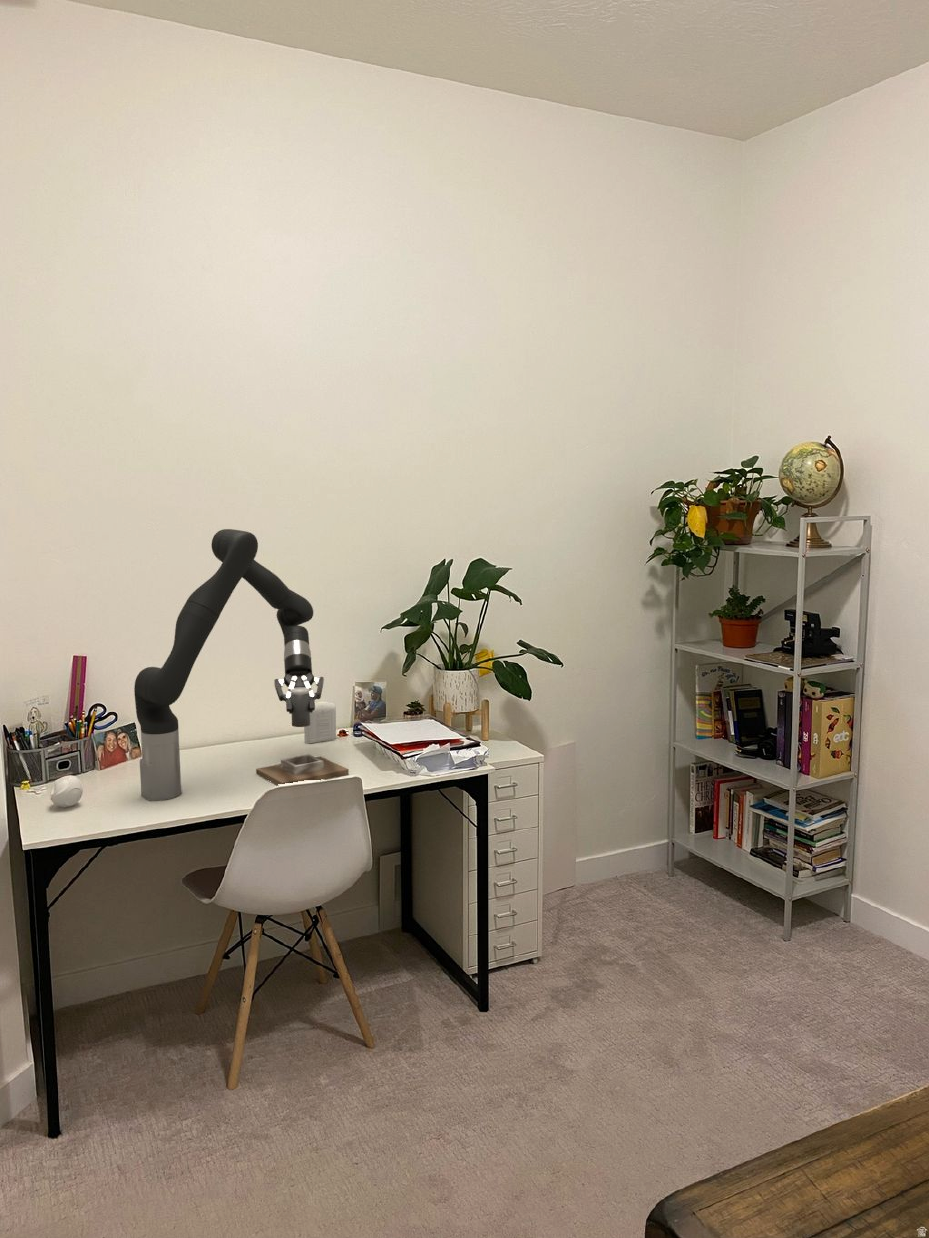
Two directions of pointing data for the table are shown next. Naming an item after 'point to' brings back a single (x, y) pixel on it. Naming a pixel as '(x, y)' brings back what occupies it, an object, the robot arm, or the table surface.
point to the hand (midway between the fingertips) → (301, 711)
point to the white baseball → (66, 791)
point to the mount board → (301, 770)
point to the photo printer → (321, 723)
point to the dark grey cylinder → (300, 707)
